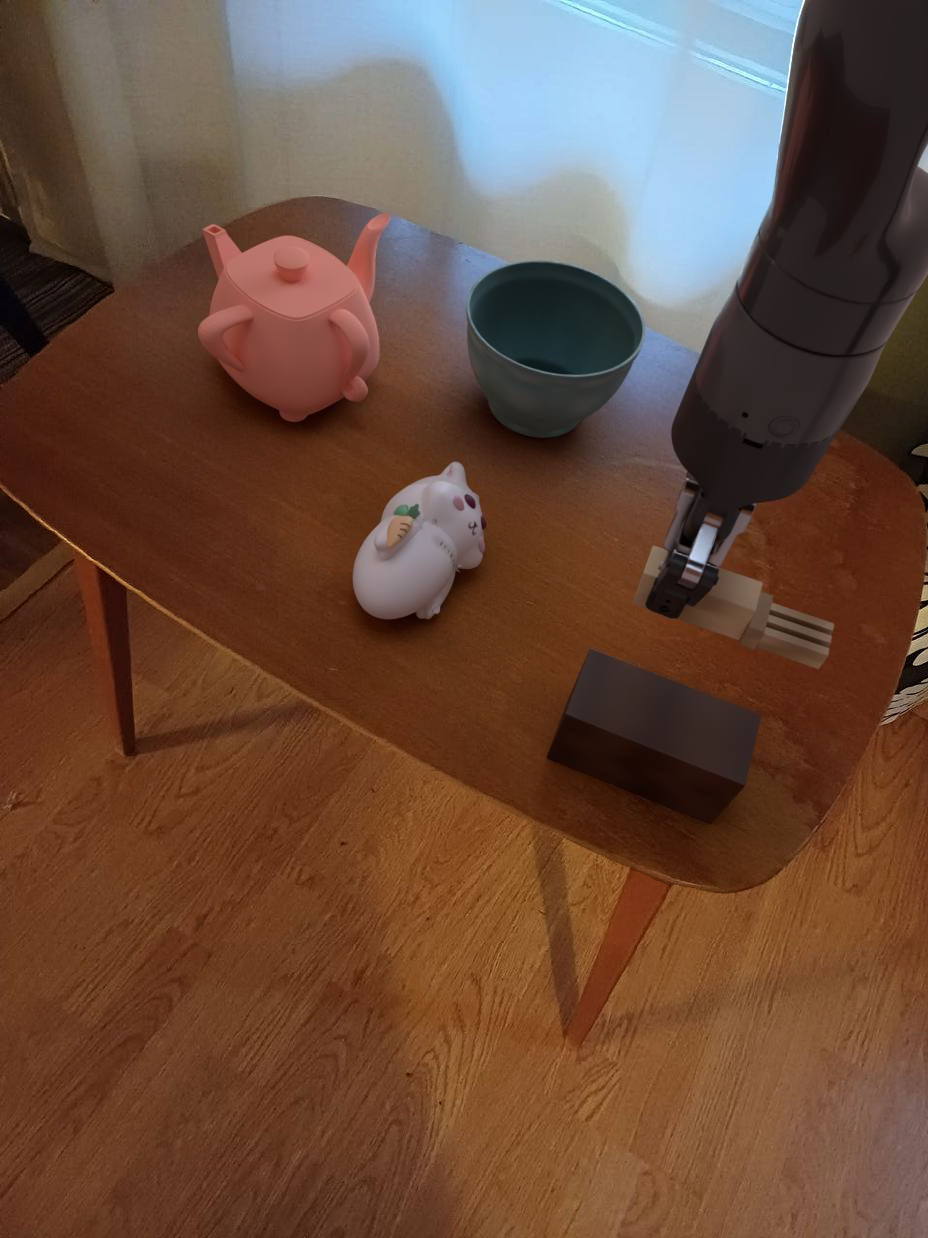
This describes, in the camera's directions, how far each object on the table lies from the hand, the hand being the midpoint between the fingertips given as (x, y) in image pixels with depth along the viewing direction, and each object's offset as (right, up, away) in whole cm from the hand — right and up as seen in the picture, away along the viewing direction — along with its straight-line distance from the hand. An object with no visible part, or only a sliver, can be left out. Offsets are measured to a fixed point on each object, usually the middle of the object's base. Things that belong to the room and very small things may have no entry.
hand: (667, 592), depth 59 cm
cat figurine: (-17, +2, +20) cm, 26 cm away
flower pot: (-6, +19, +33) cm, 39 cm away
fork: (+4, -2, 0) cm, 4 cm away
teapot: (-29, +23, +32) cm, 49 cm away
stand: (0, -12, +12) cm, 17 cm away
